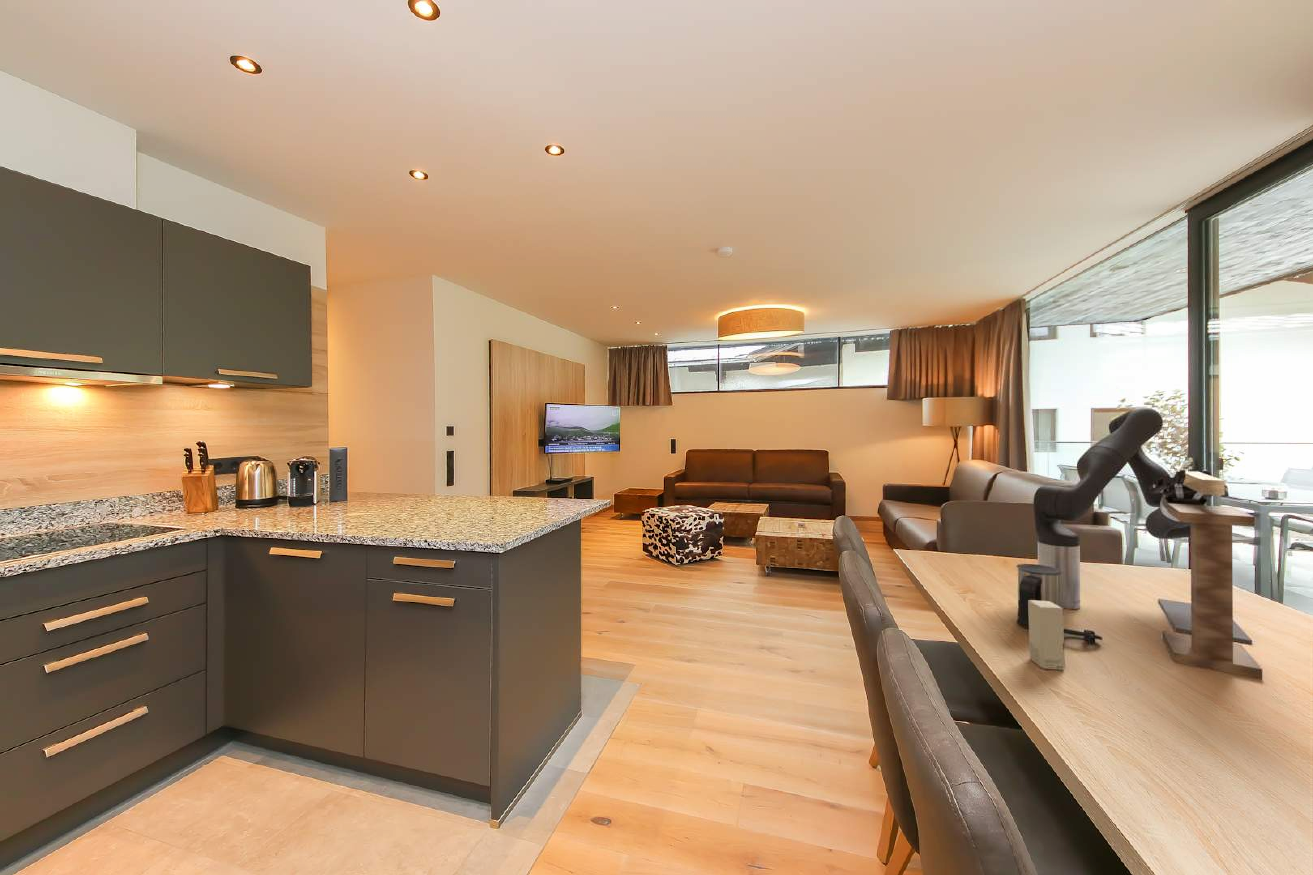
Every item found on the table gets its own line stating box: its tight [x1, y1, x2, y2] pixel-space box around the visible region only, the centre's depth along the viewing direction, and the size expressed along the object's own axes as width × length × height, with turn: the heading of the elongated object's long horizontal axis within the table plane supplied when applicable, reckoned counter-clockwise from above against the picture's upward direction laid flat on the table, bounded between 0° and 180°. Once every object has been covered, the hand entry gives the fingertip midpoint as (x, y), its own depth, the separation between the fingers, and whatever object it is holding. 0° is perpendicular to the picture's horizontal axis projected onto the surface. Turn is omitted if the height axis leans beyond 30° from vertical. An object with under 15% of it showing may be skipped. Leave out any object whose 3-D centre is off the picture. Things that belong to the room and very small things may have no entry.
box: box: [1028, 600, 1066, 671], centre depth 103 cm, size 5×4×13 cm
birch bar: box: [1182, 470, 1226, 496], centre depth 109 cm, size 3×24×3 cm, turn 140°
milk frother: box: [1016, 563, 1103, 643], centre depth 119 cm, size 14×16×15 cm
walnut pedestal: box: [1162, 503, 1263, 680], centre depth 104 cm, size 12×15×32 cm
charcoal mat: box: [1157, 598, 1253, 645], centre depth 125 cm, size 12×26×1 cm, turn 141°
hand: (1194, 473), depth 113 cm, fingers closed on birch bar, 3 cm apart
